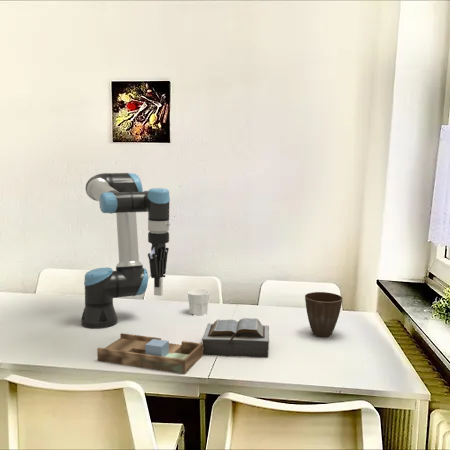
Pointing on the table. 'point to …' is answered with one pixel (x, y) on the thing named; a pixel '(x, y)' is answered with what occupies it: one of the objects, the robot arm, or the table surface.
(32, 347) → the table surface
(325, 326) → the plant pot
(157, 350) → the block
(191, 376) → the table surface
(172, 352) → the wooden tray
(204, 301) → the cup
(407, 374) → the table surface
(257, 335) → the bible
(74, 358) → the table surface
